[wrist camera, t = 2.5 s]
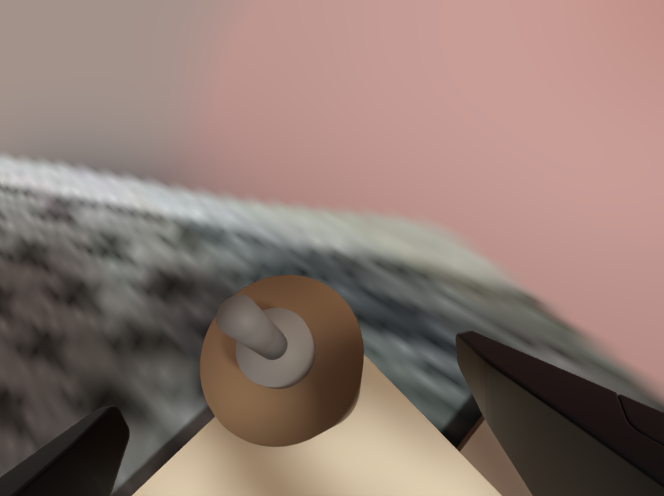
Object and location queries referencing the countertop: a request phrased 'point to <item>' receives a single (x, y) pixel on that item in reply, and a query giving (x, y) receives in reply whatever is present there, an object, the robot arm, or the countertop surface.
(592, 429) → the robot arm
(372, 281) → the countertop surface
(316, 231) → the countertop surface
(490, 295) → the countertop surface
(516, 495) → the panel
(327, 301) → the awl
